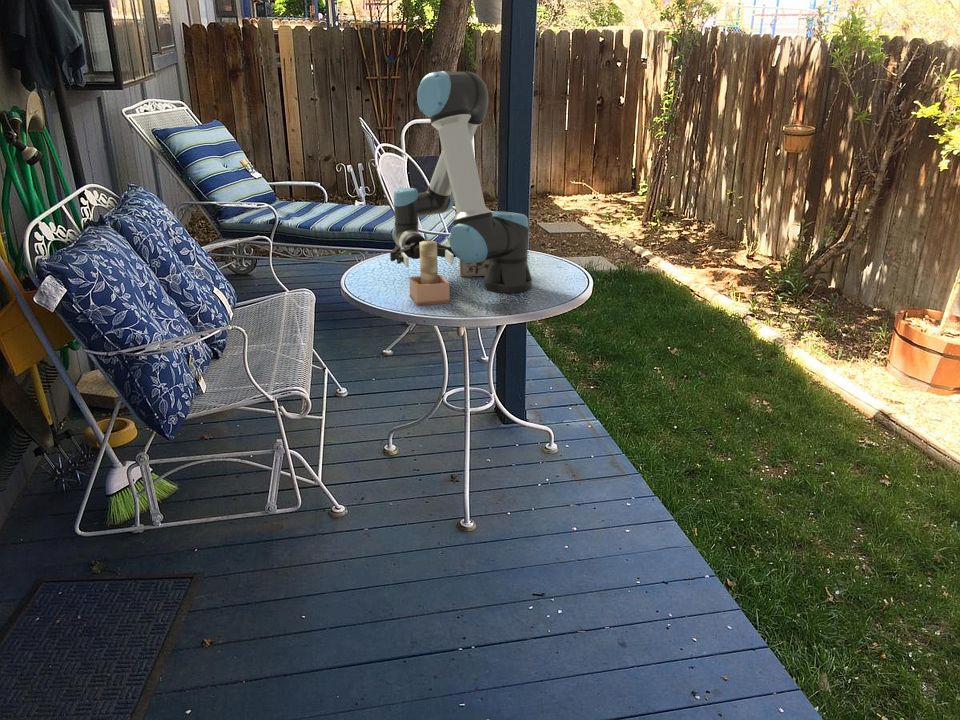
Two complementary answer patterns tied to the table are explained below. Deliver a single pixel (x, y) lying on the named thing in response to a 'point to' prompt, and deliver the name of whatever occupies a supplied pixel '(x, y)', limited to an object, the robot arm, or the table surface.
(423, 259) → the peg
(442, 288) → the box
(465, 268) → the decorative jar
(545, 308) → the table surface
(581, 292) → the table surface
